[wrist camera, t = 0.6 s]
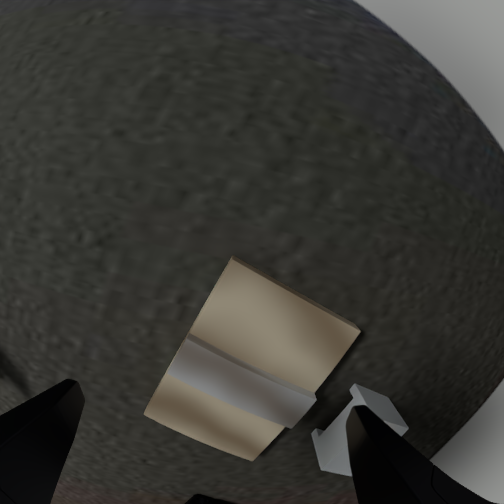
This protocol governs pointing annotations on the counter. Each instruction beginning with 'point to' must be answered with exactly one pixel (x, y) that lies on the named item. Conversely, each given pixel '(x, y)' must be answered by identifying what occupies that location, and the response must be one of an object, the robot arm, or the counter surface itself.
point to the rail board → (249, 363)
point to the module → (334, 437)
